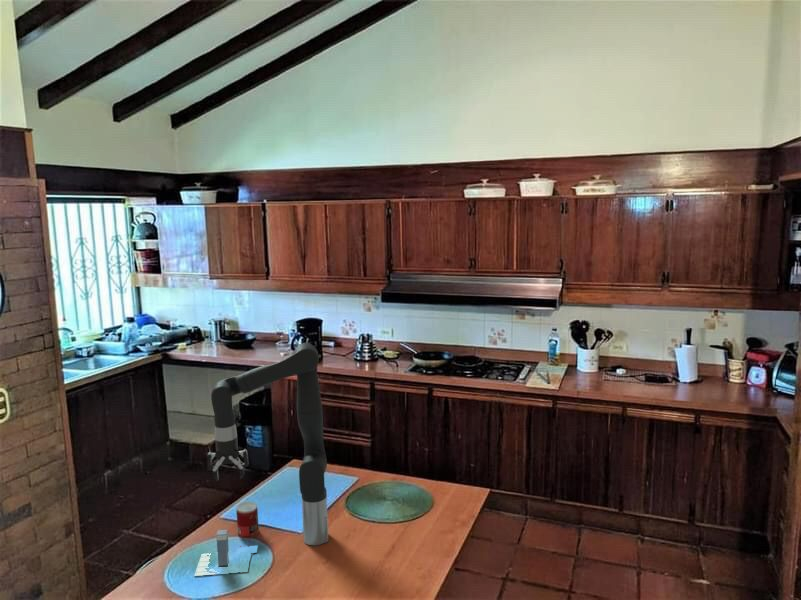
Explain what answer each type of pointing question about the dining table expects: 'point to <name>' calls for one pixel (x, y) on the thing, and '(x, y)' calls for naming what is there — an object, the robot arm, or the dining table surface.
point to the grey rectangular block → (222, 548)
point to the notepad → (204, 566)
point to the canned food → (247, 519)
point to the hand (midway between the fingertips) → (229, 478)
